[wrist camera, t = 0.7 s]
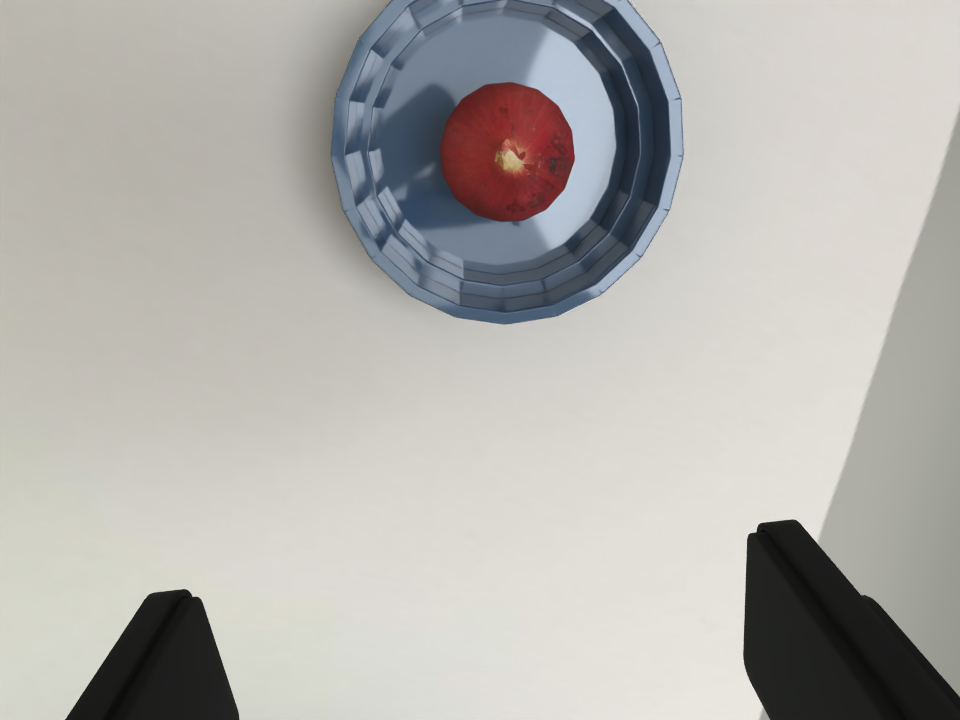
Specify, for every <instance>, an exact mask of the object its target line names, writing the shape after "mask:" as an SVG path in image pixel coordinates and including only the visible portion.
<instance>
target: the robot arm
mask: <svg viewBox="0 0 960 720" xmlns="http://www.w3.org/2000/svg"><path fill="white" fill-rule="evenodd" d="M743 656H744V664H745V668H746V672H747V675H748V677H749V680H750V682H751V684H752V686H753V688H754V689H755V691H756V693H757V695H758V697H759V699H760V701H761V703H762V705H763V707H764V709H765V711H766V713H767V714H768V716H769V718H770V720H960V697H959V696H958V695H957V693H956V692H955V691H954V690H953V689H952V688H951V686H950V685H949V684H948V683H947V682H946V681H945V680H944V679H943V678H942V676H941V675H940V674H939V673H938V672H937V670H936V669H935V668H934V667H933V666H932V665H931V664H930V662H929V661H928V660H927V659H926V658H925V657H924V656H923V654H922V653H921V652H920V651H919V650H918V649H917V647H916V646H915V645H914V644H913V643H912V642H911V641H910V639H909V638H908V637H907V636H906V635H905V634H904V632H903V631H902V630H901V629H900V628H899V627H898V626H897V624H896V623H895V622H894V621H893V620H892V619H891V618H890V617H889V615H888V614H887V613H886V612H885V611H884V610H883V608H882V607H881V606H880V605H879V604H878V603H877V602H876V601H875V600H873V599H872V598H870V597H868V596H866V595H862V596H861V595H860V594H859V592H858V591H857V590H856V589H855V588H854V586H853V585H852V584H851V583H850V582H849V581H848V579H847V578H846V577H845V576H844V575H843V573H842V572H841V571H840V570H839V569H838V568H837V567H836V565H835V564H834V563H833V562H832V561H831V559H830V558H829V557H828V556H827V555H826V553H825V552H824V551H823V550H822V549H821V548H820V546H819V545H818V544H817V543H816V542H815V541H814V539H813V538H812V537H811V536H810V535H809V533H808V532H807V531H806V530H805V529H804V528H803V526H802V525H801V524H800V523H799V522H798V521H797V520H793V519H792V520H784V521H775V522H766V523H761V524H759V525H758V527H757V533H750V534H749V535H748V539H747V563H746V593H745V622H744V652H743ZM65 720H239V713H238V709H237V706H236V703H235V700H234V697H233V694H232V691H231V688H230V685H229V682H228V679H227V676H226V673H225V670H224V667H223V663H222V660H221V657H220V654H219V651H218V648H217V645H216V642H215V639H214V636H213V633H212V630H211V627H210V624H209V621H208V618H207V615H206V612H205V609H204V606H203V603H202V601H201V599H200V598H199V597H192V595H191V593H190V592H189V591H188V590H185V589H182V590H173V591H165V592H156V593H152V594H149V595H148V596H147V598H146V599H145V600H144V602H143V603H142V605H141V606H140V608H139V609H138V611H137V612H136V614H135V615H134V617H133V618H132V620H131V621H130V623H129V624H128V626H127V627H126V629H125V630H124V632H123V633H122V635H121V636H120V638H119V639H118V641H117V642H116V644H115V645H114V647H113V648H112V650H111V651H110V653H109V654H108V656H107V657H106V659H105V660H104V662H103V664H102V665H101V667H100V668H99V670H98V671H97V673H96V674H95V676H94V677H93V679H92V680H91V682H90V683H89V685H88V686H87V688H86V689H85V691H84V692H83V694H82V695H81V697H80V698H79V700H78V701H77V703H76V704H75V706H74V707H73V709H72V710H71V712H70V713H69V715H68V716H67V718H66V719H65Z"/></svg>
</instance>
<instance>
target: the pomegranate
mask: <svg viewBox="0 0 960 720" xmlns="http://www.w3.org/2000/svg"><path fill="white" fill-rule="evenodd" d="M440 155H441V165H442V174H443V176H444V178H445V180H446V182H447V184H448V186H449V188H450V189H451V191H452V193H453V195H454V197H455V199H456V200H458V201H459V202H460V203H461V204H463V205H464V206H465V207H467V208H468V209H469V210H470V211H472V212H473V213H474V214H475V215H477V216H481V217H484V218H488V219H491V220H494V221H498V222H511V221H524V220H526V219H528V218H530V217H532V216H535V215H537V214H539V213H541V212H543V211H545V210H547V208H548V207H549V206H550V205H551V204H552V203H553V202H554V201H555V200H556V198H557V197H558V196H559V195H560V194H561V193H562V192H563V191H564V189H565V188H566V185H567V182H568V179H569V176H570V173H571V170H572V167H573V165H574V162H575V155H574V144H573V134H572V129H571V127H570V126H569V124H568V122H567V120H566V118H565V117H564V115H563V113H562V111H561V109H560V108H559V106H558V105H557V104H556V103H554V102H553V101H552V100H551V99H549V98H548V97H547V96H546V95H545V94H543V93H542V92H541V91H540V90H538V89H536V88H532V87H528V86H525V85H521V84H517V83H514V82H505V83H495V84H485V85H484V86H482V87H480V88H479V89H477V90H475V91H474V92H472V93H470V94H469V95H467V96H465V97H464V98H462V99H461V101H460V102H459V104H458V105H457V106H456V108H455V109H454V111H453V112H452V114H451V115H450V117H449V118H448V119H447V121H446V125H445V128H444V132H443V136H442V140H441V144H440Z"/></svg>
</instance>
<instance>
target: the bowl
mask: <svg viewBox="0 0 960 720" xmlns="http://www.w3.org/2000/svg"><path fill="white" fill-rule="evenodd" d="M505 82H514V83H517V84H521V85H525V86H528V87H532V88H536V89H538V90H540V91H541V92H542V93H543V94H545V95H546V96H547V97H548V98H549V99H551V100H552V101H553V102H554V103H556V104H557V105H558V106H559V108H560V109H561V111H562V113H563V115H564V117H565V118H566V120H567V122H568V124H569V126H570V127H571V129H572V134H573V144H574V155H575V162H574V165H573V167H572V170H571V173H570V176H569V179H568V182H567V185H566V188H565V189H564V191H563V192H562V193H561V194H560V195H559V196H558V197H557V198H556V200H555V201H554V202H553V203H552V204H551V205H550V206H549V207H548V208H547V210H545V211H543V212H541V213H539V214H537V215H535V216H532V217H530V218H528V219H526V220H524V221H511V222H498V221H494V220H491V219H488V218H484V217H481V216H477V215H475V214H474V213H473V212H472V211H470V210H469V209H468V208H467V207H465V206H464V205H463V204H461V203H460V202H459V201H458V200H456V199H455V197H454V195H453V193H452V191H451V189H450V188H449V186H448V184H447V182H446V180H445V178H444V176H443V174H442V165H441V155H440V144H441V140H442V136H443V132H444V128H445V125H446V121H447V119H448V118H449V117H450V115H451V114H452V112H453V111H454V109H455V108H456V106H457V105H458V104H459V102H460V101H461V99H462V98H464V97H465V96H467V95H469V94H470V93H472V92H474V91H475V90H477V89H479V88H480V87H482V86H484V85H485V84H495V83H505ZM680 97H681V95H680V93H679V90H678V87H677V84H676V82H675V79H674V76H673V73H672V71H671V68H670V65H669V62H668V60H667V57H666V54H665V51H664V48H663V46H662V43H661V42H660V40H659V38H658V37H657V36H656V35H655V33H654V32H653V31H652V30H651V28H650V27H649V26H648V25H647V23H646V22H645V21H644V19H643V18H642V17H641V16H640V14H639V13H638V12H637V11H636V9H635V8H634V7H633V6H632V4H631V3H630V2H629V1H628V0H391V1H390V3H389V4H388V5H387V6H386V7H385V8H384V10H383V11H382V12H381V13H380V14H379V15H378V17H377V18H376V19H375V20H374V21H373V22H372V24H371V25H370V26H369V27H368V28H367V29H366V31H365V32H364V33H363V34H362V35H361V37H360V38H359V40H358V41H357V44H356V46H355V48H354V51H353V53H352V56H351V58H350V61H349V63H348V66H347V68H346V71H345V73H344V76H343V78H342V81H341V83H340V85H339V88H338V90H337V93H336V97H335V105H334V117H333V130H332V143H331V160H332V164H333V169H334V173H335V177H336V182H337V186H338V191H339V195H340V200H341V204H342V208H343V211H344V214H345V215H346V217H347V219H348V221H349V222H350V224H351V226H352V227H353V229H354V231H355V233H356V234H357V236H358V238H359V240H360V241H361V243H362V245H363V247H364V248H365V250H366V252H367V254H368V255H369V257H370V258H371V260H372V261H373V262H374V263H375V264H376V265H377V266H378V267H379V268H381V269H382V270H383V271H384V272H385V273H386V274H387V275H388V276H389V277H390V278H391V279H392V280H393V281H395V282H396V283H397V284H398V285H399V286H400V287H401V288H402V289H403V290H404V291H405V292H406V293H407V294H409V295H410V296H412V297H414V298H416V299H418V300H420V301H422V302H424V303H426V304H428V305H431V306H433V307H435V308H437V309H439V310H441V311H443V312H445V313H447V314H449V315H451V316H454V317H457V318H462V319H469V320H476V321H483V322H490V323H497V324H504V325H505V324H513V323H520V322H526V321H532V320H538V319H545V318H551V317H555V316H559V315H561V314H563V313H565V312H567V311H569V310H571V309H573V308H575V307H577V306H579V305H581V304H583V303H585V302H587V301H589V300H591V299H593V298H595V297H598V296H600V295H601V294H602V293H604V292H605V291H606V290H607V289H608V288H609V287H610V286H611V285H613V284H614V283H615V282H616V281H617V280H618V279H619V278H620V277H621V276H622V275H623V274H624V273H626V272H627V271H628V270H629V269H630V268H631V267H632V266H633V265H634V264H635V263H636V262H638V261H639V260H640V258H641V257H642V256H643V254H644V253H645V251H646V249H647V248H648V246H649V244H650V243H651V241H652V239H653V238H654V236H655V234H656V233H657V231H658V229H659V228H660V226H661V224H662V223H663V221H664V219H665V218H666V216H667V214H668V213H669V210H670V207H671V203H672V199H673V195H674V192H675V188H676V184H677V180H678V176H679V172H680V168H681V164H682V161H683V155H684V151H683V127H682V102H681V98H680Z"/></svg>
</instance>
